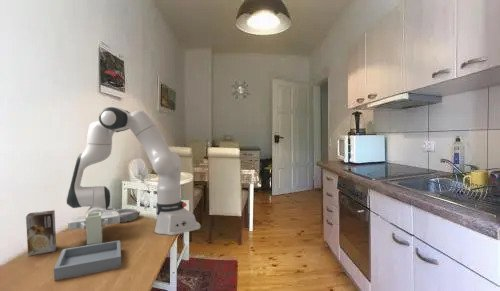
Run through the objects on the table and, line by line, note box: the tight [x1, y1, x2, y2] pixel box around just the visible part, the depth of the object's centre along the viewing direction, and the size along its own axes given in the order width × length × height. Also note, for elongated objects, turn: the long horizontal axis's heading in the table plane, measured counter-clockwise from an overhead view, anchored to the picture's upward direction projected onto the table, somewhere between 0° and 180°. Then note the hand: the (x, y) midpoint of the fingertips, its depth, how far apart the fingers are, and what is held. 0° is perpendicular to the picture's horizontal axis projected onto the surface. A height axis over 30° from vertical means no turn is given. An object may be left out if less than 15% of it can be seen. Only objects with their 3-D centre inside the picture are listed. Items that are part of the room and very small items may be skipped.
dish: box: [116, 208, 141, 223], centre depth 161 cm, size 14×14×5 cm
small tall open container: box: [85, 212, 103, 246], centre depth 119 cm, size 5×7×12 cm
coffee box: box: [25, 209, 57, 256], centre depth 116 cm, size 9×6×16 cm
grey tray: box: [53, 239, 122, 281], centre depth 104 cm, size 20×18×4 cm
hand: (94, 225), depth 119 cm, fingers closed on small tall open container, 5 cm apart
